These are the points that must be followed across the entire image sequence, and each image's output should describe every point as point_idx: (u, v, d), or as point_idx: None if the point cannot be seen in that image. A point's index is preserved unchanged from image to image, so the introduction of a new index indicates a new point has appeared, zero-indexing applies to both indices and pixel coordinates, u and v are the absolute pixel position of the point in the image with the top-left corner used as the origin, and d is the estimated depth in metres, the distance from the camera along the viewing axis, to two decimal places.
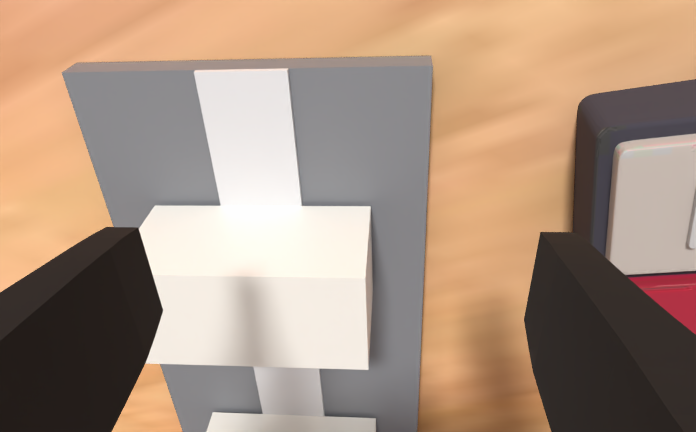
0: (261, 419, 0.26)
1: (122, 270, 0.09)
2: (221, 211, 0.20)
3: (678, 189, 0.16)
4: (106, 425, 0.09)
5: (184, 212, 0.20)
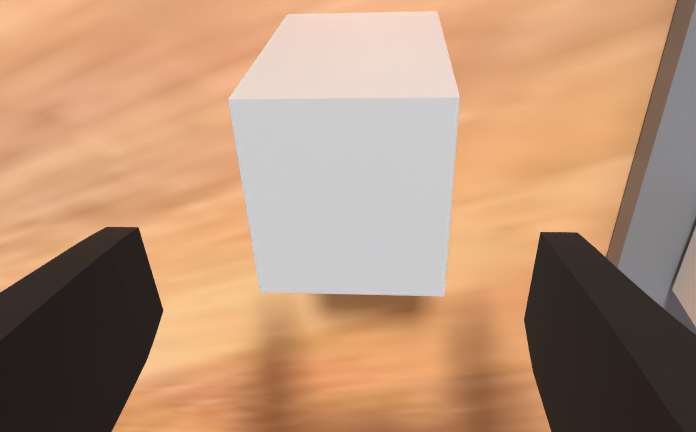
0: None
1: (122, 270, 0.09)
2: None
3: None
4: (106, 425, 0.09)
5: None
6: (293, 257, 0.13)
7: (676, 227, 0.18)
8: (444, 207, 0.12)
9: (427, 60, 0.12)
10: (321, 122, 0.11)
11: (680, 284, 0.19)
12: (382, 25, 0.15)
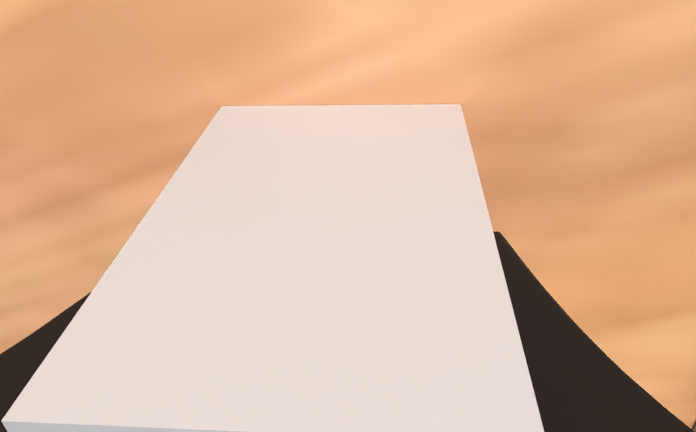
0: None
1: None
2: None
3: None
4: None
5: None
6: None
7: None
8: None
9: (456, 259, 0.06)
10: None
11: None
12: (371, 140, 0.09)
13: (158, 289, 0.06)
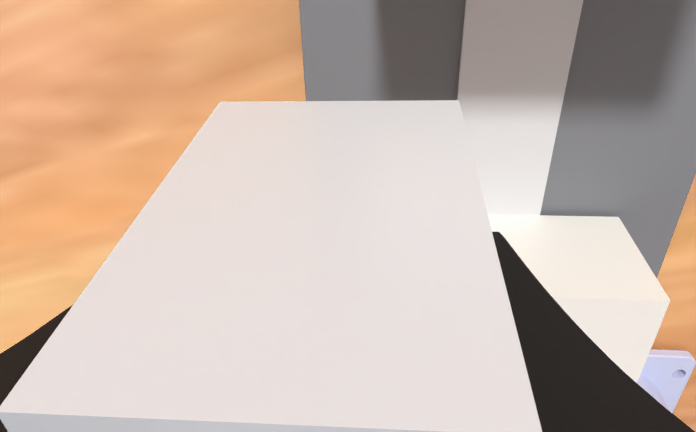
0: None
1: None
2: None
3: None
4: None
5: None
6: None
7: None
8: None
9: (452, 253, 0.06)
10: None
11: None
12: (368, 136, 0.09)
13: (154, 282, 0.06)
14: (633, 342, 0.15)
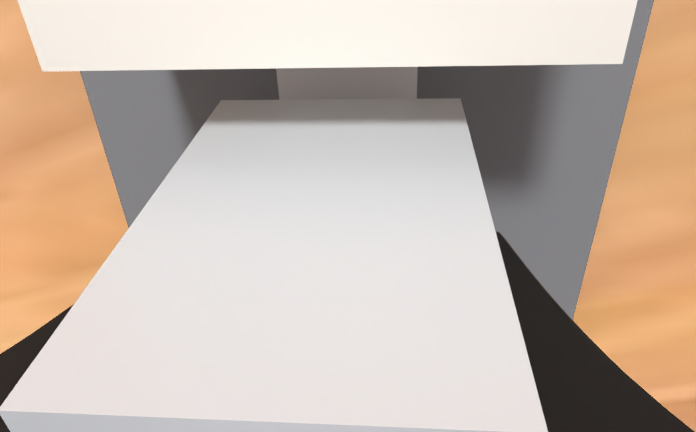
0: None
1: None
2: None
3: None
4: None
5: None
6: None
7: None
8: None
9: (455, 251, 0.06)
10: None
11: None
12: (370, 134, 0.09)
13: (156, 280, 0.06)
14: None
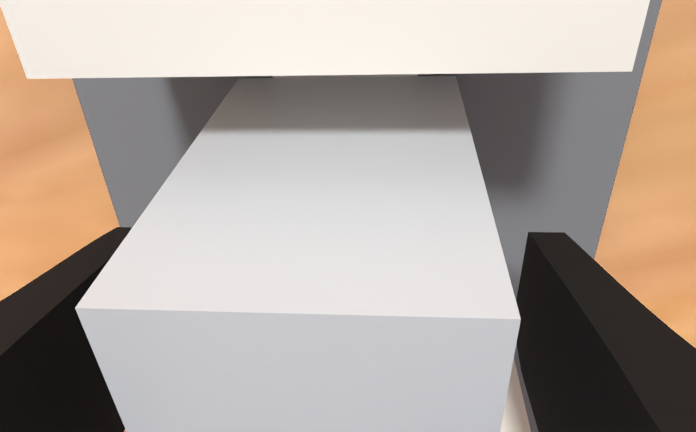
0: None
1: None
2: None
3: None
4: (118, 425, 0.09)
5: None
6: None
7: None
8: None
9: (448, 194, 0.07)
10: (255, 348, 0.06)
11: None
12: (375, 105, 0.10)
13: (195, 217, 0.07)
14: None
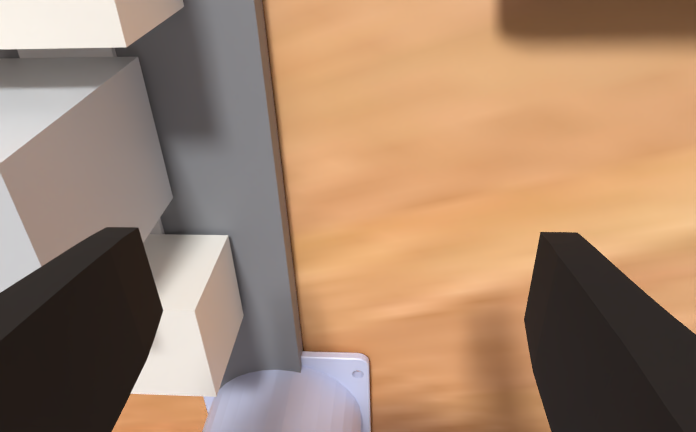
0: None
1: (122, 270, 0.09)
2: None
3: None
4: (106, 425, 0.09)
5: None
6: None
7: None
8: (35, 264, 0.12)
9: (37, 118, 0.13)
10: None
11: None
12: (61, 74, 0.15)
13: None
14: (187, 347, 0.18)
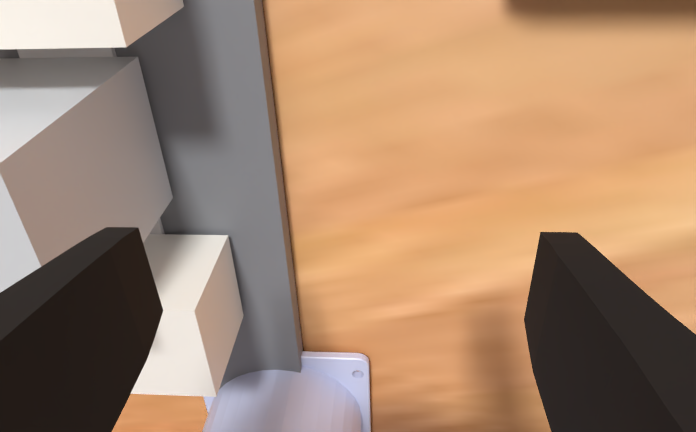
0: None
1: (122, 270, 0.09)
2: None
3: None
4: (106, 425, 0.09)
5: None
6: None
7: None
8: (35, 264, 0.12)
9: (37, 118, 0.13)
10: None
11: None
12: (61, 74, 0.15)
13: None
14: (187, 347, 0.18)
